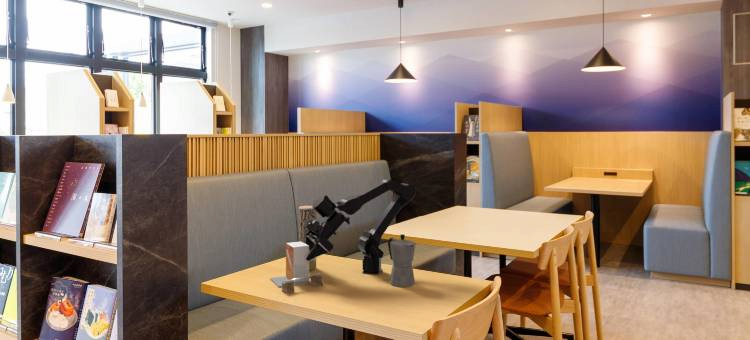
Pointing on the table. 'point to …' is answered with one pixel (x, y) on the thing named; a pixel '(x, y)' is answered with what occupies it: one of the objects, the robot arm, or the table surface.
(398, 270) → the coffeepot
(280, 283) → the mat
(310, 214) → the paper tube
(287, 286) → the rod stand
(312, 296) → the table surface
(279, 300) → the table surface
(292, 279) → the steel rod
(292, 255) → the small box
